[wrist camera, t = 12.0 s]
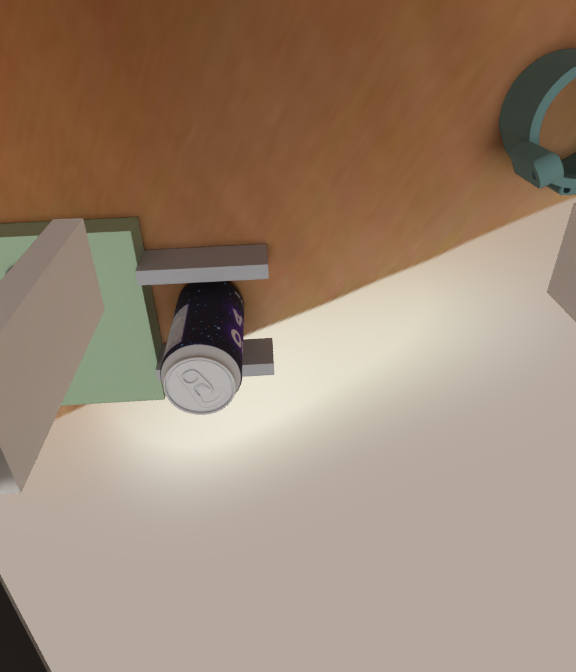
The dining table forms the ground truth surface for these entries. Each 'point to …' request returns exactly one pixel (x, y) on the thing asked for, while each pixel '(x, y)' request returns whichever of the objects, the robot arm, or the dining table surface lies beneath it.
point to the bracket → (538, 122)
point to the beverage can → (204, 348)
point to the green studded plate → (140, 304)
